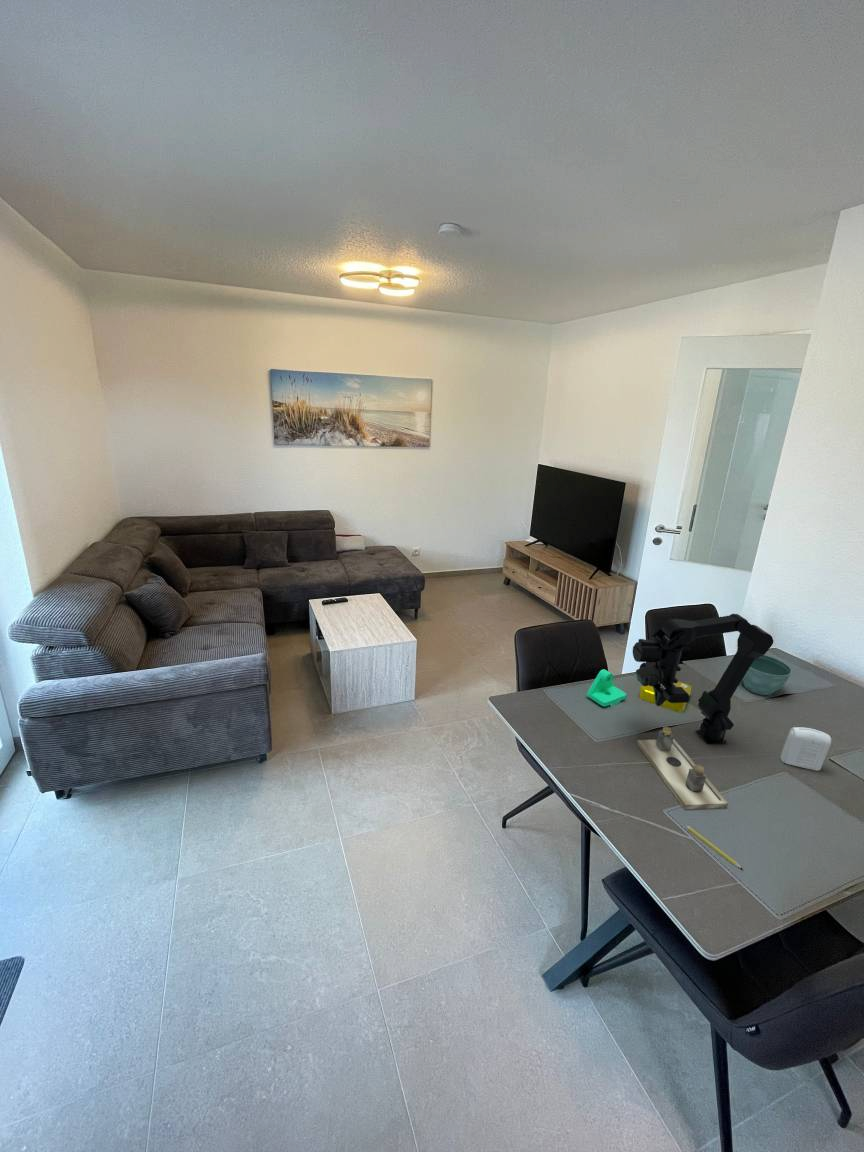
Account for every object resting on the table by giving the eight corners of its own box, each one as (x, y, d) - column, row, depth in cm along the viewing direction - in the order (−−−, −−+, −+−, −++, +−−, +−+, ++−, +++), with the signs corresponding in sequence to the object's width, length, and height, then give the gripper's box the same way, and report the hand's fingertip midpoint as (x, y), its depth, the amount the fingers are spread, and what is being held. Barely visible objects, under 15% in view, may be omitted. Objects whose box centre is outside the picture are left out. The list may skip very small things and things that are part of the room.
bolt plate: (673, 742, 157) (678, 721, 154) (726, 807, 132) (734, 783, 129) (636, 744, 155) (641, 722, 152) (684, 809, 131) (691, 785, 128)
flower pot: (793, 702, 181) (802, 676, 178) (749, 700, 181) (757, 674, 178) (766, 678, 197) (773, 654, 193) (725, 676, 197) (732, 652, 193)
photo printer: (816, 763, 150) (829, 729, 146) (822, 773, 147) (836, 738, 142) (777, 755, 153) (789, 721, 149) (782, 764, 149) (794, 730, 145)
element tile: (637, 698, 180) (639, 687, 178) (647, 681, 191) (649, 670, 190) (682, 714, 172) (685, 702, 170) (690, 695, 183) (692, 684, 182)
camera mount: (603, 709, 172) (608, 684, 169) (586, 698, 178) (590, 673, 175) (626, 700, 178) (631, 675, 174) (609, 690, 184) (614, 665, 180)
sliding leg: (665, 743, 153) (669, 726, 151) (670, 750, 150) (675, 732, 148) (655, 744, 153) (660, 726, 151) (661, 750, 150) (665, 732, 148)
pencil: (742, 873, 114) (743, 869, 114) (685, 829, 125) (686, 826, 125) (744, 871, 115) (745, 867, 114) (687, 827, 126) (688, 824, 125)
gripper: (628, 646, 157) (619, 689, 162) (659, 678, 140) (648, 724, 145) (661, 646, 158) (651, 688, 164) (696, 677, 141) (684, 723, 146)
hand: (657, 705), depth 155 cm, fingers closed
